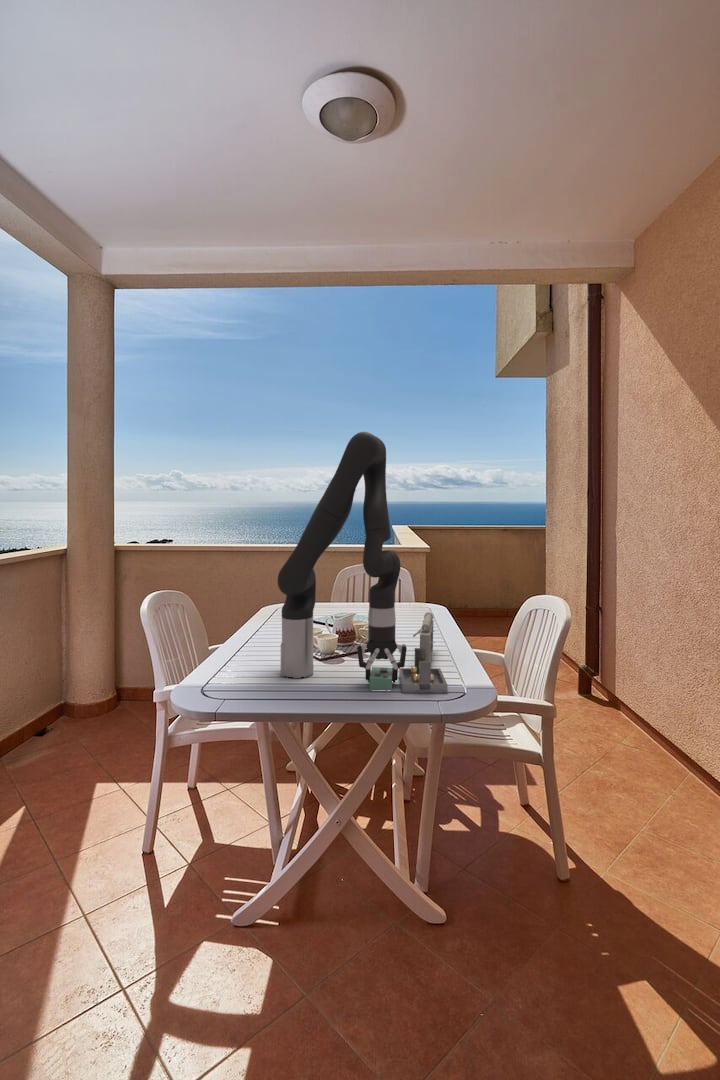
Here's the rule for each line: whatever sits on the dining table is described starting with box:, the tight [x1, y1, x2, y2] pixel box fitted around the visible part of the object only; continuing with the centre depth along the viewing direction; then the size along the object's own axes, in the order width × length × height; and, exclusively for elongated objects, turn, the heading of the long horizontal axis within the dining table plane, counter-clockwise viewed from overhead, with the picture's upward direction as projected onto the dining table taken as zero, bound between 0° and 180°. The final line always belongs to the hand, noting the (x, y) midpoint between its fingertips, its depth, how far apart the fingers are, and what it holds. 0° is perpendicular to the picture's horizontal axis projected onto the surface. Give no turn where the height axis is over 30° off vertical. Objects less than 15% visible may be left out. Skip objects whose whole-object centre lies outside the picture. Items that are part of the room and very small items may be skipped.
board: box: [368, 666, 393, 692], centre depth 140 cm, size 6×10×4 cm, turn 174°
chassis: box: [398, 647, 448, 695], centre depth 140 cm, size 12×13×8 cm
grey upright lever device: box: [412, 611, 436, 663], centre depth 166 cm, size 14×6×25 cm
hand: (381, 681), depth 140 cm, fingers closed on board, 6 cm apart
